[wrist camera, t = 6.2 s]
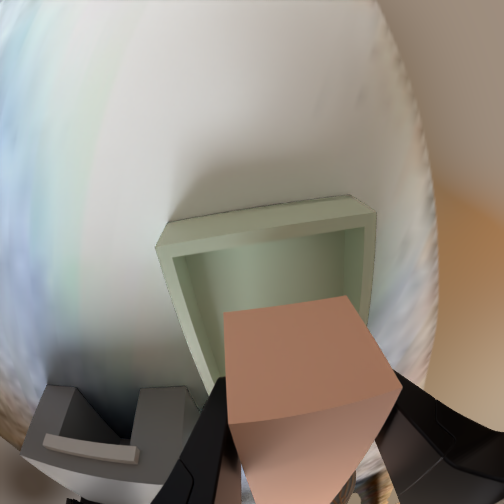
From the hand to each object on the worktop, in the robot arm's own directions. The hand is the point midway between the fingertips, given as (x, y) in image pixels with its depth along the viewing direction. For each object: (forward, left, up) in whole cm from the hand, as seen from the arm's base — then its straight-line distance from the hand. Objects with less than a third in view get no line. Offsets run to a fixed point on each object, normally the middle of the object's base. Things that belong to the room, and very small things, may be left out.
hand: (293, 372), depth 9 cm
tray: (-5, 0, -5) cm, 7 cm away
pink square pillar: (-5, 0, -1) cm, 5 cm away
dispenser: (-11, +12, -5) cm, 17 cm away
